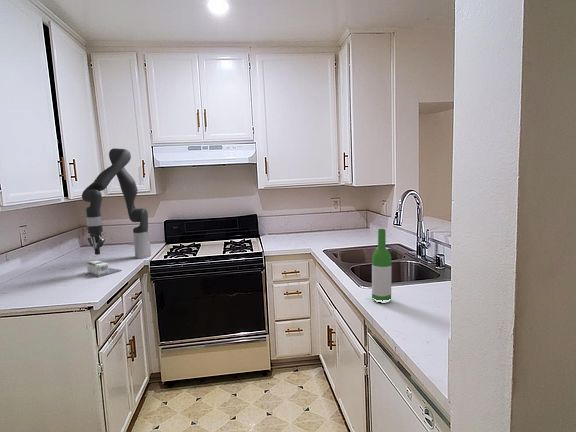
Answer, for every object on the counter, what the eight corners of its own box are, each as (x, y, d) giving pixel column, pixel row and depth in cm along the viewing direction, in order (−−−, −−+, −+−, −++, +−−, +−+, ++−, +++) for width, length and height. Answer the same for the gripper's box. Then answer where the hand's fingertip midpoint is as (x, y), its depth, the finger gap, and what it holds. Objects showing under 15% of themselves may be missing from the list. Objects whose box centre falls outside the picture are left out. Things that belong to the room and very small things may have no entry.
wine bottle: (395, 302, 141) (396, 229, 137) (379, 305, 138) (379, 231, 135) (383, 296, 148) (383, 227, 145) (368, 299, 145) (368, 228, 142)
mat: (108, 268, 207) (108, 267, 207) (121, 270, 201) (121, 269, 201) (85, 274, 195) (85, 273, 195) (98, 277, 189) (98, 276, 189)
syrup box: (96, 259, 204) (108, 262, 195) (97, 269, 204) (109, 272, 195) (86, 261, 199) (97, 265, 190) (87, 271, 200) (98, 275, 191)
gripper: (108, 224, 197) (110, 253, 199) (93, 223, 203) (96, 252, 205) (95, 226, 191) (98, 256, 193) (81, 225, 197) (84, 254, 199)
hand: (97, 254), depth 199 cm, fingers closed
